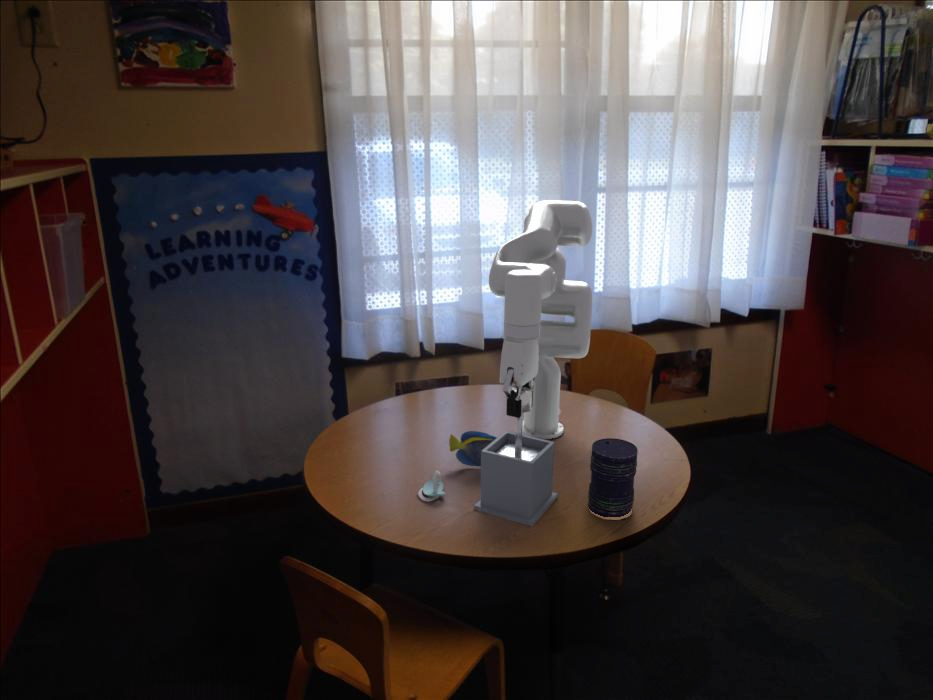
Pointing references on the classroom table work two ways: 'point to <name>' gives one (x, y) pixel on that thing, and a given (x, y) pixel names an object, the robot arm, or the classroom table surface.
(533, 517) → the press housing
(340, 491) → the classroom table surface
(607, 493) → the dark blue cylinder
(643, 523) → the classroom table surface
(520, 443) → the plunger
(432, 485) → the pacifier
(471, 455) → the tropical fish figurine
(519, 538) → the classroom table surface
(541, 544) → the classroom table surface
